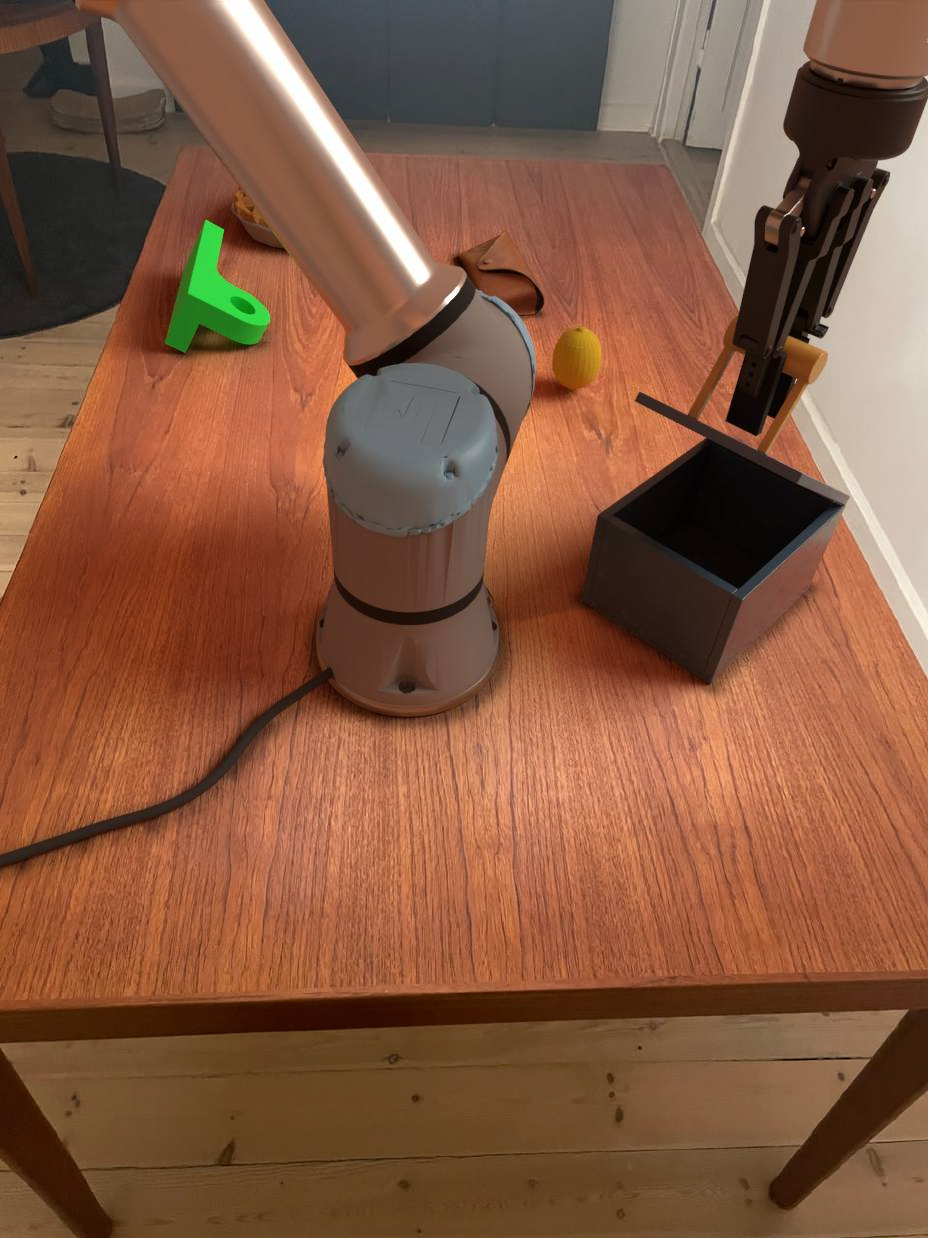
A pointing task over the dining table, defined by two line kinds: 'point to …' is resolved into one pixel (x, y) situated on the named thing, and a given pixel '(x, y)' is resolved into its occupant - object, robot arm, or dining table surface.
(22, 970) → the dining table surface
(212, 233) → the green corner bracket
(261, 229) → the pie
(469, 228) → the dining table surface
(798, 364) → the tin lid
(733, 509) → the tin
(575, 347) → the lemon
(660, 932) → the dining table surface
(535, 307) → the sunglasses case
